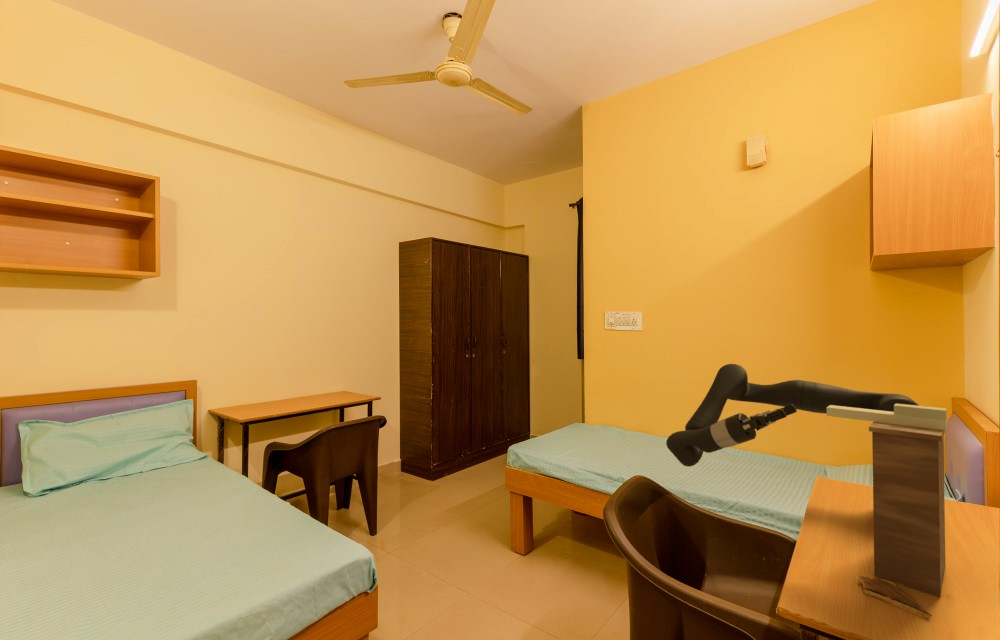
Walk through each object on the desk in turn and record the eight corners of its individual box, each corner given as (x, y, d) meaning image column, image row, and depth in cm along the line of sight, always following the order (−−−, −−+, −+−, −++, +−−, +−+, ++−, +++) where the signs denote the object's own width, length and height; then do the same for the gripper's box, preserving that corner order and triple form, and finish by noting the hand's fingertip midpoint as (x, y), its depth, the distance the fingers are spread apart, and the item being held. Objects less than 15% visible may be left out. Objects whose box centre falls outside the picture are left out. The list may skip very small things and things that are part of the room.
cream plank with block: (830, 413, 107) (830, 396, 107) (947, 427, 92) (946, 408, 92) (826, 415, 105) (826, 399, 105) (946, 430, 90) (945, 411, 90)
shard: (932, 623, 80) (932, 613, 80) (882, 617, 82) (882, 607, 82) (895, 588, 90) (894, 579, 90) (851, 583, 92) (851, 574, 92)
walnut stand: (883, 547, 105) (881, 414, 105) (948, 566, 97) (946, 421, 97) (871, 575, 94) (868, 426, 94) (944, 599, 86) (941, 436, 86)
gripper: (715, 422, 121) (772, 400, 110) (735, 414, 130) (790, 393, 120) (729, 449, 118) (789, 428, 107) (749, 439, 127) (806, 419, 117)
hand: (789, 410), depth 114 cm, fingers open, 8 cm apart
